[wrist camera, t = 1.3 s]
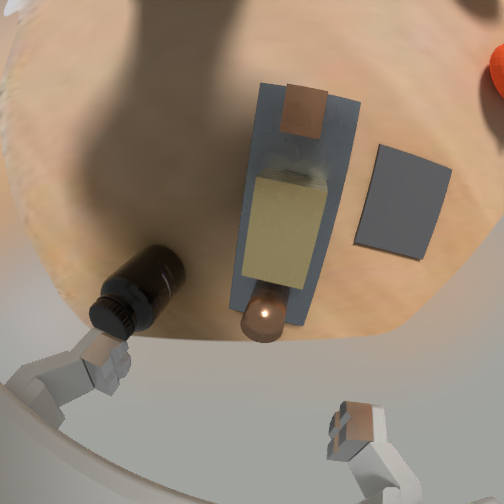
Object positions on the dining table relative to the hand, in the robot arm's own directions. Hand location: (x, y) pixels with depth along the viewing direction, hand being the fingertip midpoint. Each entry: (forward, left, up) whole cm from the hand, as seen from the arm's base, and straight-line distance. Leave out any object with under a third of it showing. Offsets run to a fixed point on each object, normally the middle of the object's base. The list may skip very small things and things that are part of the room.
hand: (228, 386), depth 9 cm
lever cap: (0, 0, -17) cm, 17 cm away
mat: (-3, +11, -21) cm, 24 cm away
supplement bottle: (+11, -14, -22) cm, 28 cm away
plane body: (0, 0, -21) cm, 21 cm away
